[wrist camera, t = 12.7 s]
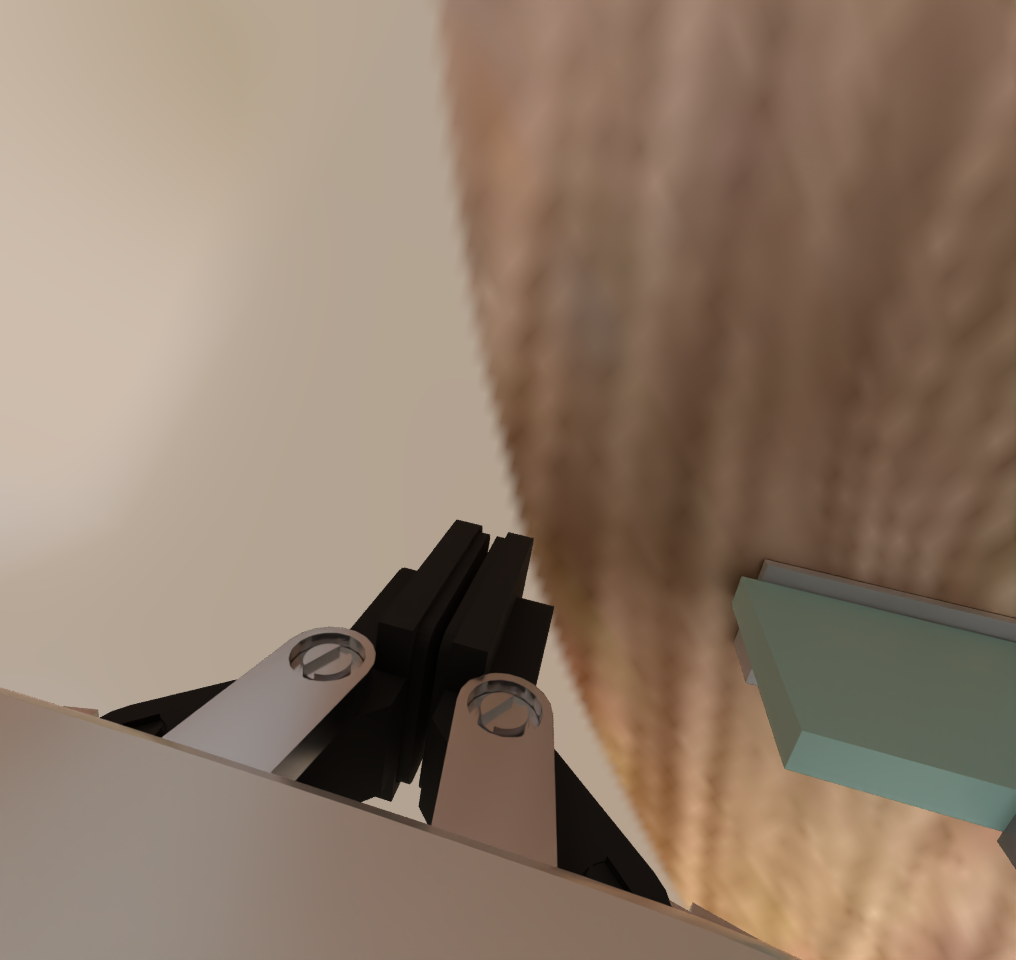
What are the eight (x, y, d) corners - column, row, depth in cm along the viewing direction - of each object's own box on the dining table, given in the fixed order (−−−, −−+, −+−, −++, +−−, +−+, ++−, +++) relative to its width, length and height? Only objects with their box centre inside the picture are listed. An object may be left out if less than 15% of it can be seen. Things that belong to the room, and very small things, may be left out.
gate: (1121, 660, 12) (1550, 980, 6) (1092, 702, 12) (1470, 1038, 7) (744, 568, 13) (828, 773, 7) (728, 611, 13) (797, 834, 8)
